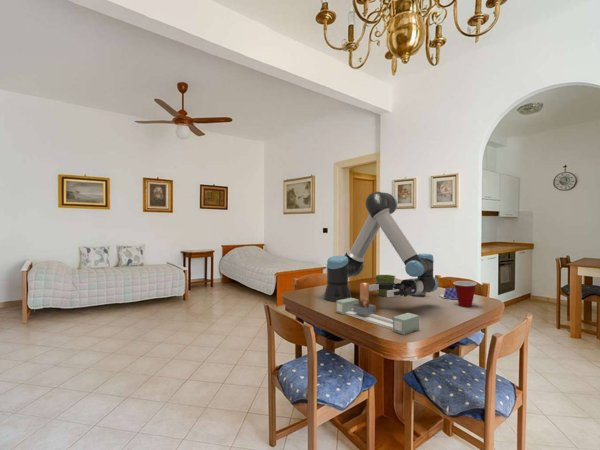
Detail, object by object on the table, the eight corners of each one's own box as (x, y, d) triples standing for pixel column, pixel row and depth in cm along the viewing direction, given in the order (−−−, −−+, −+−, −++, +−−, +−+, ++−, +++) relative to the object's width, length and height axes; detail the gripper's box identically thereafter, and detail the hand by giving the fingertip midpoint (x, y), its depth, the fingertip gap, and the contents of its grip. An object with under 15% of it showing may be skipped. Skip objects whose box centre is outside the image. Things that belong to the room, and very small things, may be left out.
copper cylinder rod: (353, 311, 139) (353, 282, 139) (363, 308, 143) (363, 281, 143) (365, 315, 134) (365, 285, 134) (375, 312, 138) (375, 283, 138)
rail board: (335, 312, 146) (335, 300, 146) (351, 308, 152) (351, 297, 152) (403, 335, 116) (403, 320, 116) (419, 329, 122) (419, 315, 122)
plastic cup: (448, 303, 163) (448, 280, 163) (468, 302, 163) (468, 280, 163) (460, 308, 152) (460, 284, 152) (481, 308, 153) (481, 284, 153)
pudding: (464, 301, 168) (464, 291, 168) (440, 299, 172) (440, 289, 172) (461, 296, 179) (461, 287, 179) (439, 294, 183) (439, 285, 183)
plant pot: (391, 292, 187) (391, 274, 187) (398, 297, 175) (398, 277, 175) (372, 293, 186) (372, 274, 186) (378, 297, 174) (378, 277, 174)
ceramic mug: (426, 297, 175) (426, 283, 175) (411, 296, 177) (411, 283, 177) (424, 293, 185) (424, 280, 185) (409, 292, 188) (409, 280, 188)
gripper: (432, 299, 140) (396, 305, 130) (393, 289, 162) (360, 293, 153) (432, 283, 140) (396, 287, 130) (393, 275, 162) (360, 278, 153)
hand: (377, 290), depth 141 cm, fingers open, 13 cm apart
